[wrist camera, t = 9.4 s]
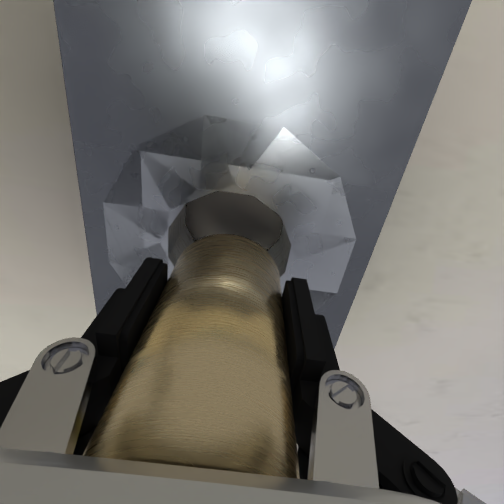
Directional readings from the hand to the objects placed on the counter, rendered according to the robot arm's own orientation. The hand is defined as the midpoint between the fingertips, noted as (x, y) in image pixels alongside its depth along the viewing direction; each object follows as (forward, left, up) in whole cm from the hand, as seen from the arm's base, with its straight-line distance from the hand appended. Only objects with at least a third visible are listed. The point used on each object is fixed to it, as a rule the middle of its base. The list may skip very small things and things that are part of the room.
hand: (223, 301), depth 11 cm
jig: (-2, 0, -8) cm, 8 cm away
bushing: (0, 0, -1) cm, 1 cm away
